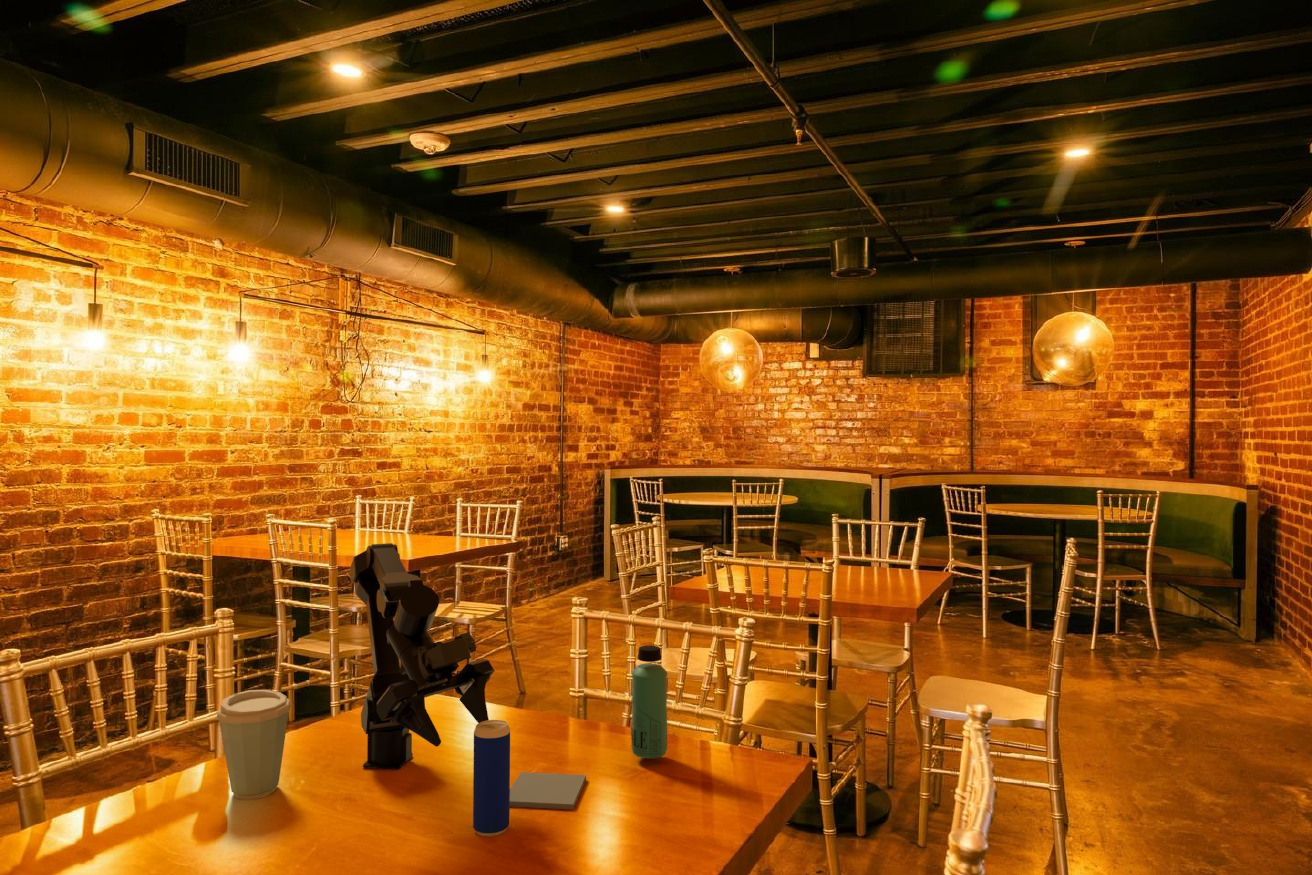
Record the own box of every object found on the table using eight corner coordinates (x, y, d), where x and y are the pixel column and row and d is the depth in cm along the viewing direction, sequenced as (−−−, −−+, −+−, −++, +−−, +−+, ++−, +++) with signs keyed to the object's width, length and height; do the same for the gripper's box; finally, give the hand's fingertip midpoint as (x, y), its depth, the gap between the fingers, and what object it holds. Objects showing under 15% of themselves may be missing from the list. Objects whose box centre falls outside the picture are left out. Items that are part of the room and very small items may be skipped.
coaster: (502, 805, 125) (502, 800, 125) (521, 776, 136) (521, 772, 136) (573, 809, 124) (573, 804, 124) (586, 779, 135) (586, 775, 135)
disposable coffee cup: (305, 785, 132) (306, 692, 132) (247, 812, 122) (248, 712, 122) (259, 773, 136) (260, 684, 136) (199, 799, 127) (200, 702, 127)
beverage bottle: (672, 755, 145) (673, 643, 146) (660, 769, 139) (661, 652, 139) (638, 751, 148) (639, 640, 148) (624, 764, 141) (625, 649, 141)
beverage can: (513, 821, 120) (514, 719, 120) (503, 838, 115) (504, 731, 115) (479, 820, 120) (480, 718, 120) (467, 836, 115) (468, 730, 115)
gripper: (389, 629, 117) (439, 721, 110) (486, 608, 132) (536, 688, 125) (355, 675, 121) (401, 766, 115) (454, 649, 136) (499, 729, 130)
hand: (463, 735), depth 121 cm, fingers open, 9 cm apart
